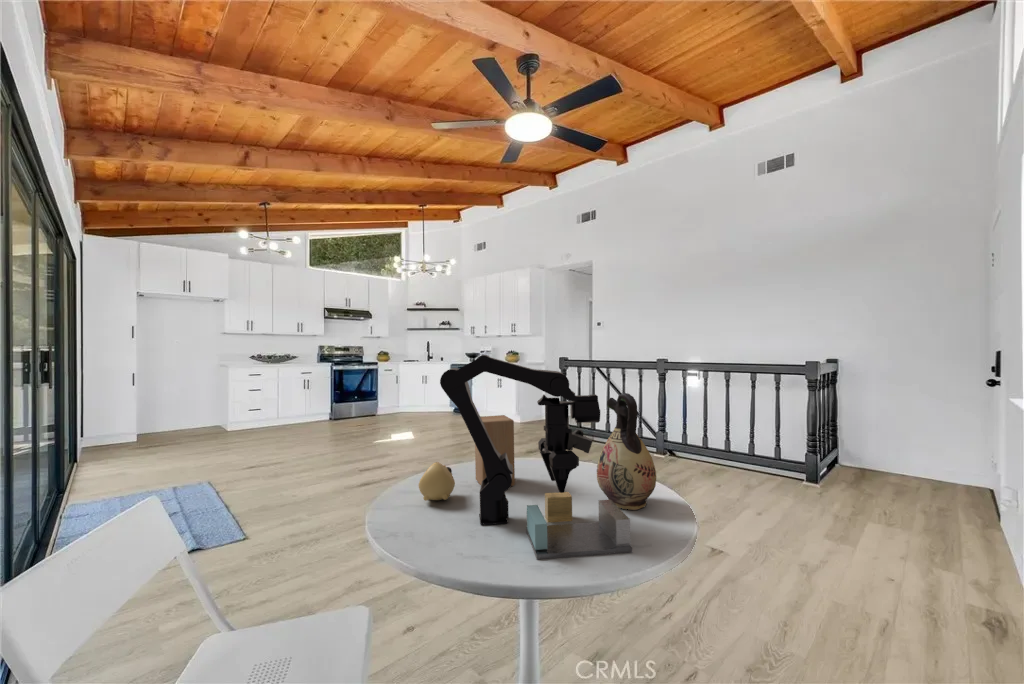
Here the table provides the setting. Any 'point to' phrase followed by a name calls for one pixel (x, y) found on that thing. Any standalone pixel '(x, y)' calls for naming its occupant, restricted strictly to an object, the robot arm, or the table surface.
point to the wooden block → (497, 442)
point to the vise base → (589, 535)
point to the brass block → (558, 507)
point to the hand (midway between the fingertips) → (557, 486)
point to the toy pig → (437, 482)
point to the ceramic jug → (626, 459)
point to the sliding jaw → (537, 527)
